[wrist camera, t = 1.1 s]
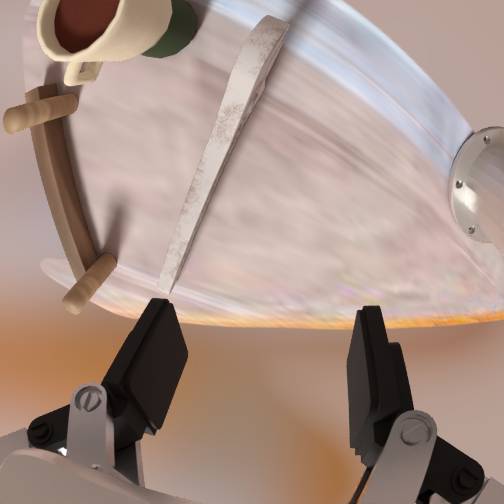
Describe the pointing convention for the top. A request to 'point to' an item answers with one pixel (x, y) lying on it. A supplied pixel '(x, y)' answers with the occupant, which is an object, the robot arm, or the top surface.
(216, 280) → the top surface
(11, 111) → the peg rack
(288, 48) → the top surface
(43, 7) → the character mug
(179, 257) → the wrench
